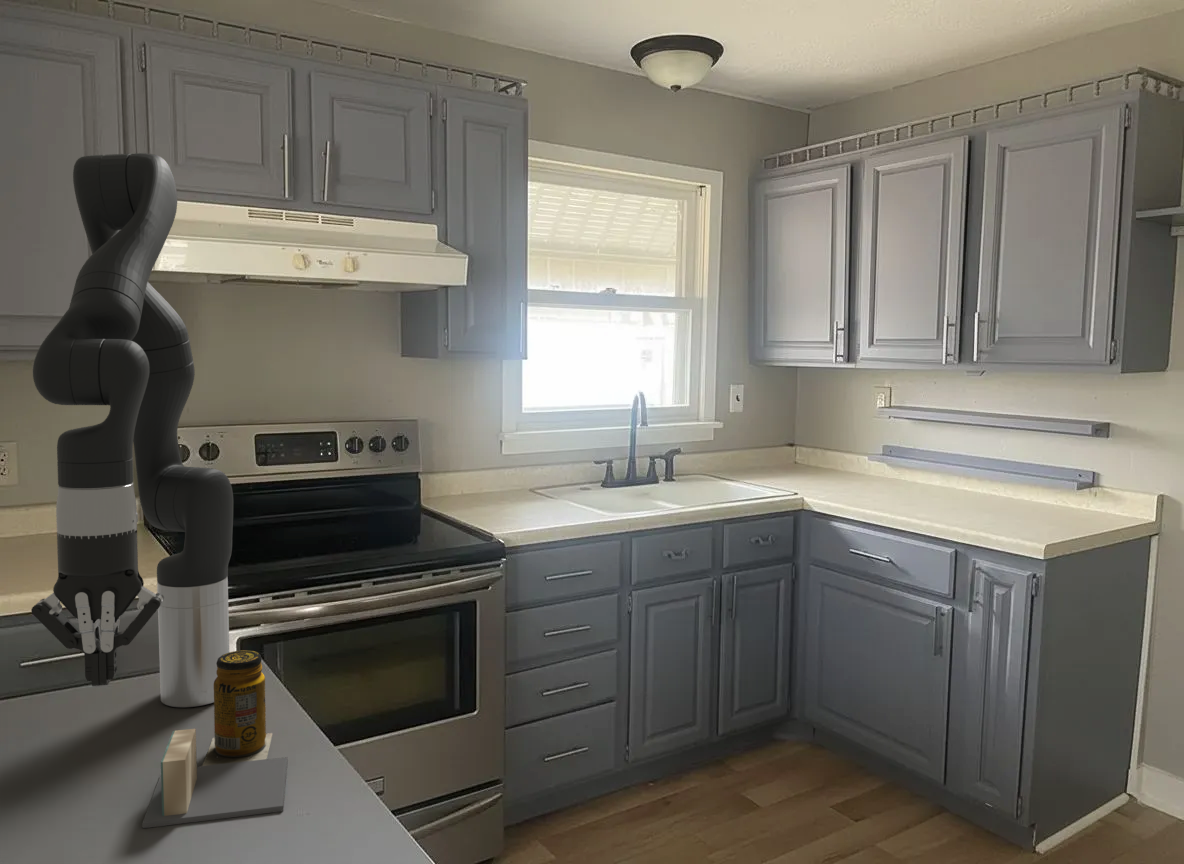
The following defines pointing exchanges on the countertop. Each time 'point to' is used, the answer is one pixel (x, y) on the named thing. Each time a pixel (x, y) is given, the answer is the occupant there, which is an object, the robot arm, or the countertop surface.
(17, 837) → the countertop surface
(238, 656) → the condiment
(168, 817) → the mat
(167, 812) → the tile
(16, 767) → the countertop surface
